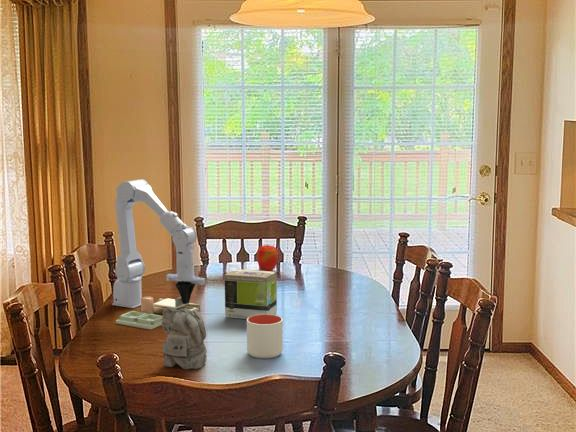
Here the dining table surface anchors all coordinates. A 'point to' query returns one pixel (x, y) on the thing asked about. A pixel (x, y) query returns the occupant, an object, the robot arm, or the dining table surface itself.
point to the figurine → (184, 338)
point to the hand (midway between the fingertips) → (185, 303)
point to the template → (188, 306)
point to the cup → (264, 336)
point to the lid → (170, 303)
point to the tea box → (250, 293)
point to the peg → (147, 305)
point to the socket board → (140, 320)
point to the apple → (267, 257)
